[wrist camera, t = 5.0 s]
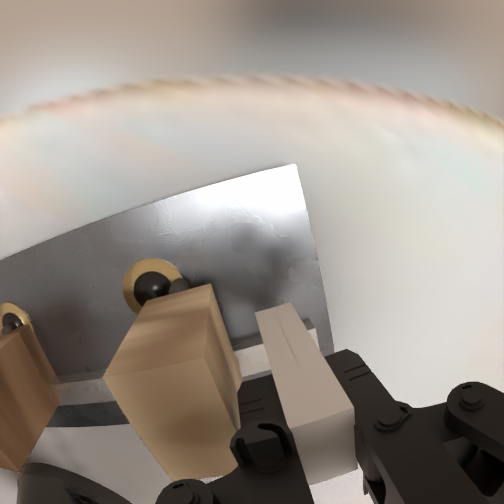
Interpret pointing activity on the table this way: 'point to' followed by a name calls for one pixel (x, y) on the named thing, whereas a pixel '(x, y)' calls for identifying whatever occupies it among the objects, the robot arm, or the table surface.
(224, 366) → the block
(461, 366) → the table surface
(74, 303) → the bolt plate
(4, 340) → the fixed leg
